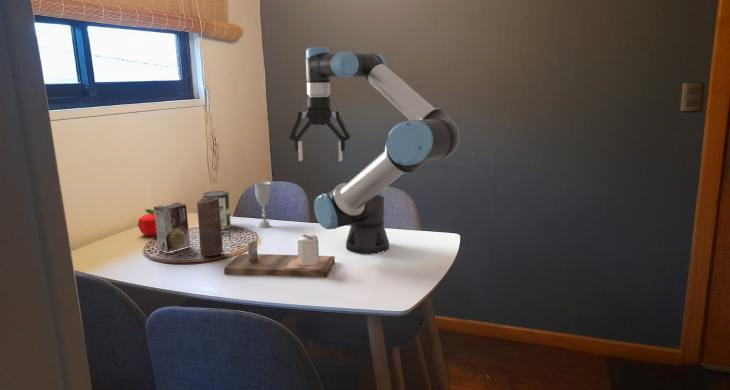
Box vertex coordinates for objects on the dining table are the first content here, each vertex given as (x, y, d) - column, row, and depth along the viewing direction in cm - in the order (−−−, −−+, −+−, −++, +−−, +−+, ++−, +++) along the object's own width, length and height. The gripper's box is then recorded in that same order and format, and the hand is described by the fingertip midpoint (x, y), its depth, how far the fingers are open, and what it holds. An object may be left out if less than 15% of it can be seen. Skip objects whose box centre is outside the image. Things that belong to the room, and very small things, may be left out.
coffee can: (218, 222, 222) (216, 189, 219) (236, 225, 217) (234, 192, 214) (199, 228, 214) (196, 194, 211) (217, 231, 208) (214, 197, 205)
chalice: (255, 225, 217) (252, 182, 214) (271, 223, 219) (269, 181, 216) (257, 229, 211) (254, 185, 207) (274, 228, 213) (271, 184, 209)
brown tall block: (216, 259, 176) (212, 201, 171) (196, 258, 177) (191, 200, 173) (227, 252, 183) (223, 196, 179) (207, 251, 184) (203, 195, 180)
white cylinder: (322, 262, 165) (321, 236, 163) (305, 266, 161) (304, 240, 160) (311, 257, 170) (310, 232, 168) (295, 261, 166) (294, 236, 164)
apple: (174, 231, 210) (172, 206, 208) (157, 238, 200) (155, 213, 198) (151, 229, 212) (148, 205, 210) (133, 237, 202) (131, 211, 200)
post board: (334, 262, 172) (334, 237, 170) (326, 277, 159) (326, 250, 157) (240, 259, 176) (238, 235, 174) (224, 274, 162) (222, 248, 160)
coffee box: (180, 244, 192) (176, 201, 189) (190, 248, 188) (187, 204, 185) (157, 251, 185) (153, 206, 182) (167, 254, 181) (163, 209, 178)
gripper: (358, 95, 174) (358, 159, 179) (284, 96, 177) (287, 158, 182) (355, 96, 167) (355, 162, 172) (278, 96, 170) (281, 162, 174)
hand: (320, 160), depth 177 cm, fingers open, 13 cm apart
